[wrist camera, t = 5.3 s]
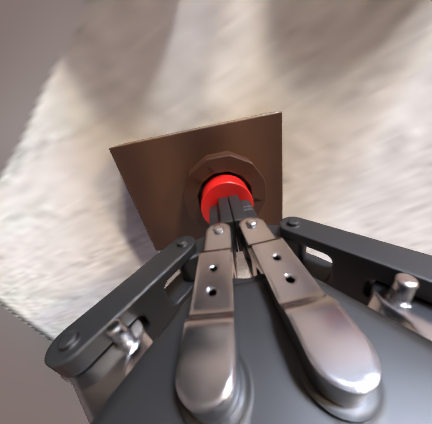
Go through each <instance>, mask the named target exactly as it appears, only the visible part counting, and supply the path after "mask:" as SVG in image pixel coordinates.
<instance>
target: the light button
mask: <svg viewBox="0 0 432 424" xmlns="http://www.w3.org/2000/svg"><path fill="white" fill-rule="evenodd" d="M232 195H238V197H239V199H240V200H245V199H246V200H248V201H249V202H250V203H251V205H252V207H253V198H252V196H251V194H250V192H249V190H248V188H247V187H246V185H245V183H244V182H243V181H242V180H241V179H240V178H238V177H236V176H234V175H229V174H223V175H218V176H215V177H213V178H212V179H210V180H209V181H208V182H207V183H206V185H205V186H204V188H203V190H202V196H201V212H202V215H203V217H204V219H205V220H206V221H207V222H208V223H209V209H210V208H211V207H212V206H214V205H218V198H222V197H227V198H228V196H232ZM228 202H229V200H228Z"/></svg>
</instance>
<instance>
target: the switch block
mask: <svg viewBox="0 0 432 424" xmlns="http://www.w3.org/2000/svg"><path fill="white" fill-rule="evenodd" d="M109 150H110V152H111V154H112V156H113V158H114V161H115V163H116V165H117V167H118V169H119V171H120V174H121V176H122V178H123V180H124V182H125V184H126V187H127V189H128V191H129V193H130V195H131V197H132V199H133V202H134V204H135V206H136V208H137V210H138V212H139V215H140V217H141V219H142V221H143V223H144V225H145V227H146V230H147V232H148V234H149V236H150V238H151V240H152V243H153V245H154V247H155V249H156V251H158V250H163V249H164V248H166V247H167V246H168V245H169V244H170V243H172V242H173V241H174V240H175V239H177V238H179V237H182V236H191V237H193V238H194V239H195V240H197V239H200V238H202V237H204V236H205V235H206V232H207V229H208V228H209V227H210V225H209V223H208V222H207V221H206V220H205V219H204V217H203V215H202V212H201V196H202V190H203V188H204V186H205V185H206V183H207V182H208V181H209V180H210V179H212V178H213V177H215V176H218V175H223V174H229V175H234V176H236V177H238V178H240V179H241V180H242V181H243V182H244V183H245V185H246V187H247V188H248V190H249V192H250V194H251V196H252V198H253V209H254V211H255V213H256V214H257V216H258V218H260V219H262V220H263V221H264V223H265V224H268V225H279V223H280V221H281V220H282V111H279V112H269V113H265V114H260V115H255V116H251V117H246V118H241V119H237V120H232V121H227V122H223V123H218V124H213V125H209V126H204V127H199V128H195V129H190V130H185V131H181V132H176V133H171V134H167V135H162V136H157V137H152V138H148V139H143V140H138V141H134V142H129V143H124V144H121V145H118V146H114V147H111V148H109Z"/></svg>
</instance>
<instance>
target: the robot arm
mask: <svg viewBox="0 0 432 424" xmlns="http://www.w3.org/2000/svg"><path fill="white" fill-rule="evenodd" d="M228 200H229V202H228ZM209 225H210V227H209V228H208V229H207V232H206V235H205V236H204V237H202V238H200V239H197V240H195V239H194V238H193V237H191V236H182V237H179V238H177V239H175V240H174V241H173V242H172V243H170V244H169V245H168V246H167V247H166V248H164V249H163V250H162V251H161V252H159V253H158V254H157V255H156V256H155V257H153V258H152V259H151V260H150V261H148V262H147V263H146V264H145V265H143V266H142V267H141V268H140V269H139V270H137V271H136V272H135V273H134V274H132V275H131V276H130V277H129V278H128V279H126V280H125V281H124V282H123V283H121V284H120V285H119V286H118V287H116V288H115V289H114V290H113V291H112V292H110V293H109V294H108V295H107V296H105V297H104V298H103V299H102V300H101V301H99V302H98V303H97V304H96V305H94V306H93V307H92V308H91V309H90V310H88V311H87V312H86V313H85V314H83V315H82V316H81V317H80V318H78V319H77V320H76V321H75V322H74V323H72V324H71V325H70V326H69V327H67V328H66V329H65V330H64V331H63V332H62V333H60V334H59V335H58V336H57V337H56V339H55V340H54V341H53V342H52V344H51V345H50V347H49V348H48V350H47V352H46V355H45V364H46V365H47V366H48V367H50V368H51V369H53V370H54V371H55V372H57V373H58V374H60V375H61V377H62V378H63V379H64V380H66V381H67V382H68V383H70V384H71V385H73V387H74V389H75V391H76V393H77V396H78V398H79V400H80V403H81V405H82V407H83V409H84V412H85V414H86V416H87V419H88V421H89V423H90V424H432V256H431V255H427V254H424V253H420V252H417V251H413V250H410V249H407V248H403V247H400V246H396V245H393V244H389V243H386V242H382V241H379V240H375V239H372V238H368V237H365V236H361V235H358V234H354V233H351V232H347V231H344V230H340V229H337V228H333V227H330V226H326V225H323V224H320V223H316V222H313V221H309V220H306V219H302V218H298V217H287V218H284V219H282V220H281V221H280V223H279V225H268V224H265V223H264V221H263V220H262V219H260V218H258V216H257V214H256V213H255V211H254V209H253V207H252V205H251V203H250V202H249V201H248V200H246V199H245V200H240V199H239V197H238V195H232V196H228V198H227V197H222V198H218V205H214V206H212V207H211V208H210V209H209ZM236 239H237V240H236ZM237 243H238V246H237ZM306 246H307V247H309V248H312V249H314V250H317V251H319V252H322V253H324V254H326V255H328V256H329V257H330V258H331V259H332V263H330V262H328V261H326V260H323V259H321V258H319V257H316V256H314V255H311V254H309V253H307V252H306ZM238 247H239V251H243V253H244V259H245V263H246V265H247V268H248V271H249V273H250V276H251V278H248V279H242V278H238V274H237V263H236V252H238ZM178 269H179V270H180V272H181V273H180V274H179V275H178V276H177V277H176V278H175V279H174V280H173V281H172V282H171V283H170V284H169V285H168V286H167V287H166V288H165V284H166V282H167V280H168V279H169V278H170V277H171V276H172V275H173V274H174V273H175V272H176V271H177V270H178Z"/></svg>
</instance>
